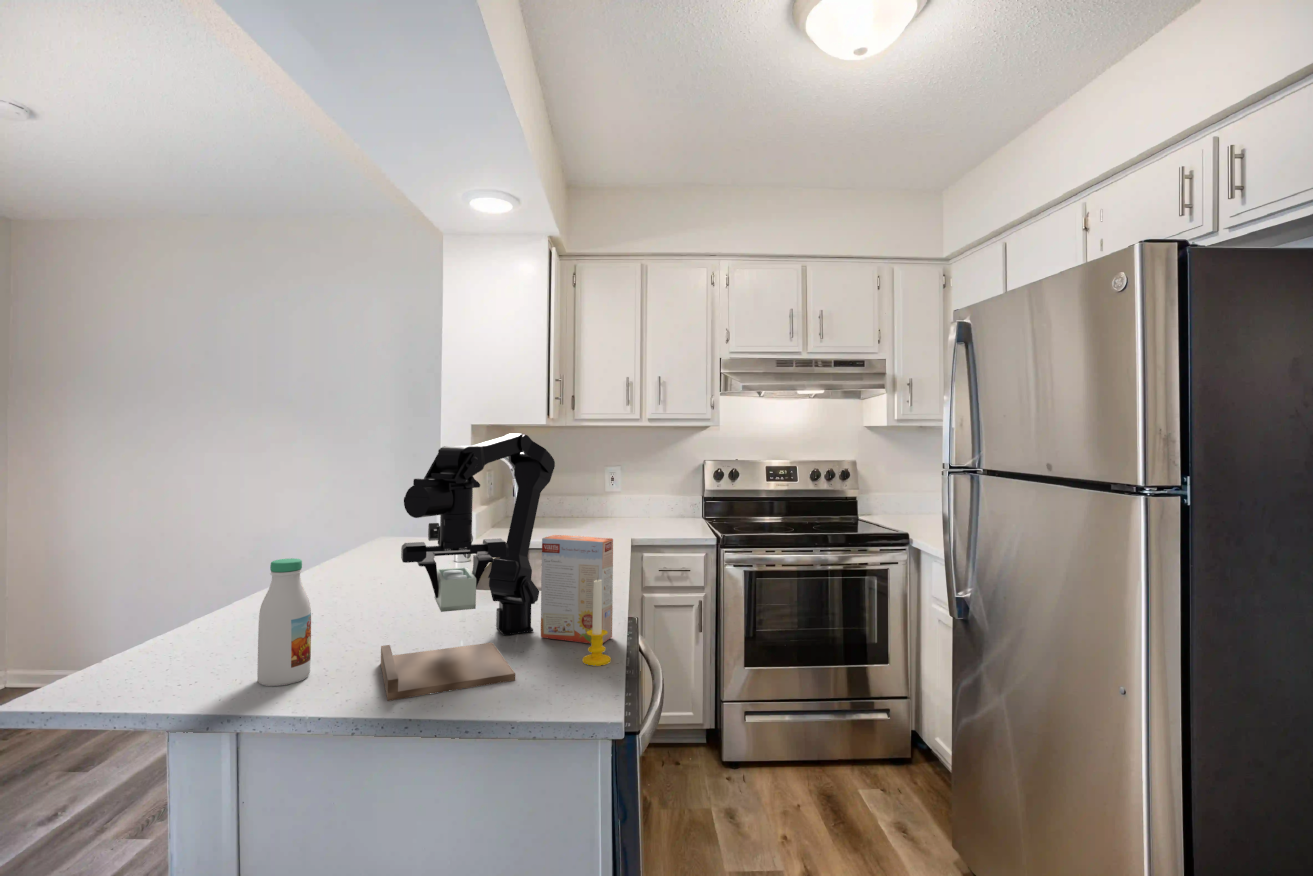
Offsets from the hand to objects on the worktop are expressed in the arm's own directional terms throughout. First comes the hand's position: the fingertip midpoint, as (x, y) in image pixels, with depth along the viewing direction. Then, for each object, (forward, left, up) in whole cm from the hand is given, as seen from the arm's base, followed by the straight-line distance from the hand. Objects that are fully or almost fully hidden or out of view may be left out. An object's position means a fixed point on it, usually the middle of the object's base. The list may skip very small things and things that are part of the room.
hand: (454, 596), depth 117 cm
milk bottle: (+27, -1, -12) cm, 30 cm away
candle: (-24, +13, -12) cm, 29 cm away
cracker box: (-25, -2, -12) cm, 27 cm away
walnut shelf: (+2, +7, -11) cm, 14 cm away
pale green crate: (0, 0, -1) cm, 1 cm away
